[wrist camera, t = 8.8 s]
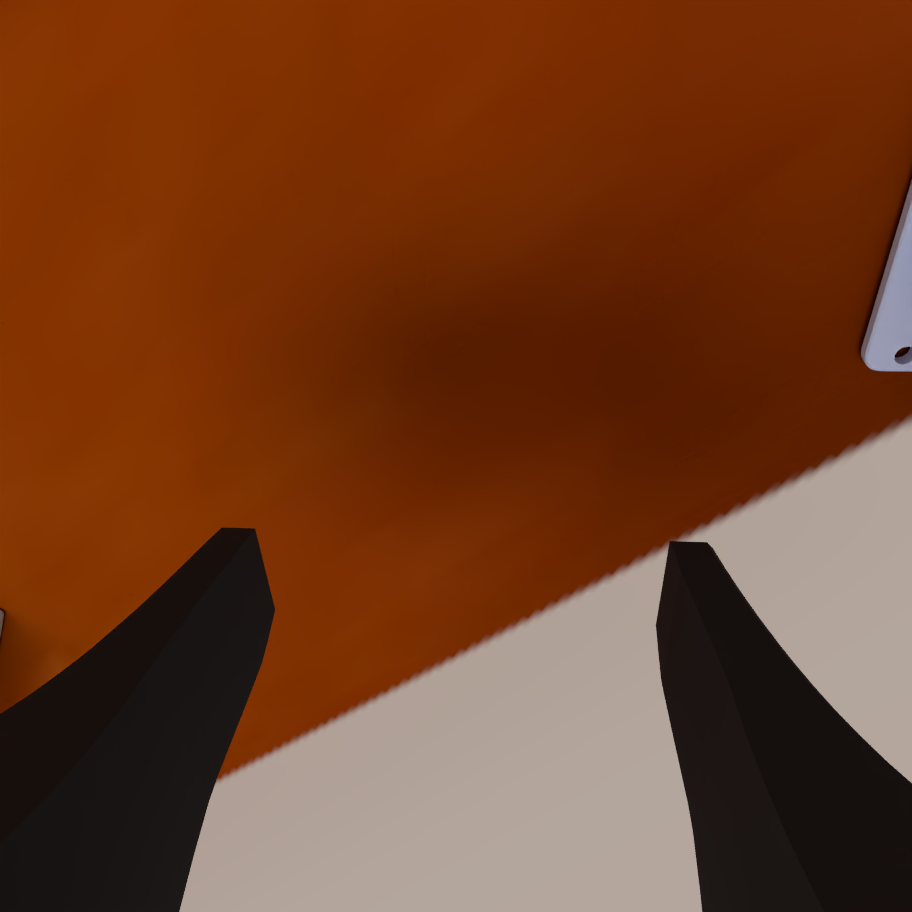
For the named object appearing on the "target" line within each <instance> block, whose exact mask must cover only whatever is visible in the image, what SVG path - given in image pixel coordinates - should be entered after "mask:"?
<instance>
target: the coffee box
mask: <svg viewBox="0 0 912 912" xmlns="http://www.w3.org/2000/svg"><path fill="white" fill-rule="evenodd" d="M3 617H4V612H3V611H1V610H0V636H1V630H2V624H3Z"/></svg>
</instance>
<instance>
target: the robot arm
mask: <svg viewBox="0 0 912 912" xmlns="http://www.w3.org/2000/svg"><path fill="white" fill-rule="evenodd" d="M903 347H910V350H909V351H908V353H907V354H905V355H904V356H901V357H895V354H896V353H897V351H898V350H900V349H901V348H903ZM861 357H862V359H863V361H864V362H865V364H866V365H867V366H868V367H869V368H870V369H872V370H876V371H912V181H911V184H910V188H909V191H908V194H907V198H906V201H905V204H904V208H903V211H902V215H901V218H900V221H899V225H898V228H897V231H896V235H895V238H894V241H893V245H892V248H891V251H890V255H889V258H888V261H887V265H886V268H885V271H884V275H883V278H882V281H881V285H880V288H879V291H878V295H877V298H876V301H875V305H874V308H873V311H872V315H871V318H870V321H869V325H868V328H867V331H866V335H865V338H864V342H863V345H862V348H861ZM274 612H275V607H274V603H273V599H272V595H271V591H270V587H269V583H268V579H267V575H266V571H265V567H264V563H263V559H262V555H261V551H260V547H259V543H258V539H257V535H256V531H255V529H250V528H221V529H220V530H219V531H218V532H217V533H216V534H215V535H214V536H212V537H211V538H210V539H209V540H208V541H207V542H206V543H205V544H204V545H203V546H202V547H201V548H200V549H199V550H198V551H197V552H196V553H195V554H194V555H193V556H192V557H191V558H190V559H189V560H188V561H187V562H186V563H185V564H184V565H183V566H182V567H181V568H180V569H178V570H177V571H176V572H175V573H174V574H173V575H172V576H171V577H170V578H169V579H168V580H167V581H166V582H165V583H164V584H163V585H162V586H161V587H160V588H159V589H158V590H157V591H156V592H154V593H153V594H152V595H151V596H150V597H149V598H148V599H147V600H146V601H145V602H144V603H143V604H142V605H141V606H140V607H138V608H137V609H136V610H135V611H134V612H133V613H132V614H131V615H130V616H128V617H127V618H126V619H125V620H124V621H123V622H122V623H120V624H119V625H118V626H117V627H116V628H115V629H113V630H112V631H111V632H110V633H109V634H108V635H106V636H105V637H104V638H103V639H102V640H101V641H100V642H98V643H97V644H96V645H95V646H94V647H93V648H91V649H90V650H89V651H88V652H86V653H85V654H84V655H83V656H81V657H80V658H79V659H78V660H76V661H75V662H74V663H72V664H71V665H70V666H69V667H67V668H66V669H65V670H63V671H62V672H60V673H59V674H58V675H56V676H55V677H54V678H52V679H51V680H50V681H48V682H47V683H46V684H44V685H43V686H41V687H40V688H39V689H37V690H36V691H34V692H33V693H32V694H30V695H29V696H27V697H26V698H24V699H23V700H21V701H20V702H18V703H17V704H15V705H13V706H12V707H10V708H9V709H7V710H6V711H4V712H3V713H1V714H0V912H179V910H180V906H181V902H182V899H183V895H184V891H185V887H186V883H187V879H188V875H189V872H190V867H191V864H192V860H193V856H194V852H195V849H196V845H197V842H198V838H199V835H200V831H201V827H202V824H203V820H204V816H205V813H206V810H207V806H208V803H209V799H210V796H211V794H212V791H213V788H214V785H215V782H216V779H217V776H218V774H219V771H220V769H221V766H222V764H223V761H224V759H225V756H226V753H227V751H228V748H229V746H230V743H231V741H232V738H233V736H234V733H235V731H236V728H237V726H238V723H239V721H240V718H241V715H242V713H243V710H244V708H245V705H246V703H247V700H248V698H249V695H250V692H251V690H252V687H253V685H254V682H255V680H256V677H257V674H258V672H259V669H260V666H261V664H262V660H263V657H264V653H265V649H266V645H267V641H268V638H269V633H270V629H271V625H272V620H273V616H274ZM656 629H657V641H658V651H659V662H660V672H661V680H662V686H663V691H664V695H665V700H666V705H667V709H668V714H669V718H670V723H671V728H672V733H673V737H674V742H675V746H676V750H677V755H678V760H679V764H680V769H681V773H682V778H683V782H684V787H685V791H686V796H687V800H688V806H689V811H690V817H691V822H692V828H693V835H694V843H695V852H696V859H697V868H698V876H699V884H700V894H701V903H702V912H912V783H911V782H910V781H908V780H907V779H906V778H905V777H904V776H903V775H902V774H900V773H899V772H898V771H897V770H896V769H895V768H894V767H892V766H891V765H890V764H889V763H888V762H887V761H886V760H884V758H883V757H882V756H881V755H879V753H877V752H876V751H875V750H874V749H873V748H872V747H871V746H870V745H869V744H868V743H867V742H866V741H865V740H864V739H863V738H862V737H861V736H860V735H859V734H858V733H857V732H856V731H855V730H854V729H853V728H852V727H851V726H850V725H849V724H848V723H847V722H846V721H845V720H844V719H843V718H842V717H841V716H840V715H839V714H838V712H837V711H836V710H835V709H834V708H833V707H832V706H831V705H830V704H829V703H828V702H827V701H826V699H825V698H824V697H823V696H822V695H821V694H820V693H819V692H818V691H817V689H816V688H815V687H814V686H813V685H812V684H811V683H810V681H809V680H808V679H807V678H806V676H805V675H804V674H803V673H802V672H801V671H800V669H799V668H798V667H797V666H796V665H795V663H794V662H793V661H792V660H791V659H790V657H789V656H788V655H787V654H786V652H785V651H784V650H783V649H782V647H781V646H780V645H779V643H778V642H777V641H776V639H775V638H774V637H773V635H772V634H771V633H770V632H769V630H768V629H767V628H766V626H765V625H764V624H763V622H762V621H761V620H760V618H759V617H758V616H757V614H756V613H755V611H754V610H753V609H752V607H751V606H750V604H749V603H748V602H747V600H746V599H745V597H744V596H743V594H742V593H741V592H740V590H739V589H738V587H737V586H736V584H735V583H734V581H733V580H732V578H731V576H730V575H729V573H728V572H727V571H726V569H725V567H724V566H723V564H722V562H721V561H720V560H719V558H718V556H717V555H716V553H715V551H714V550H713V548H712V547H711V546H710V545H709V544H708V543H707V542H677V541H670V543H669V550H668V556H667V563H666V568H665V574H664V580H663V586H662V592H661V598H660V604H659V610H658V616H657V622H656Z"/></svg>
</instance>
